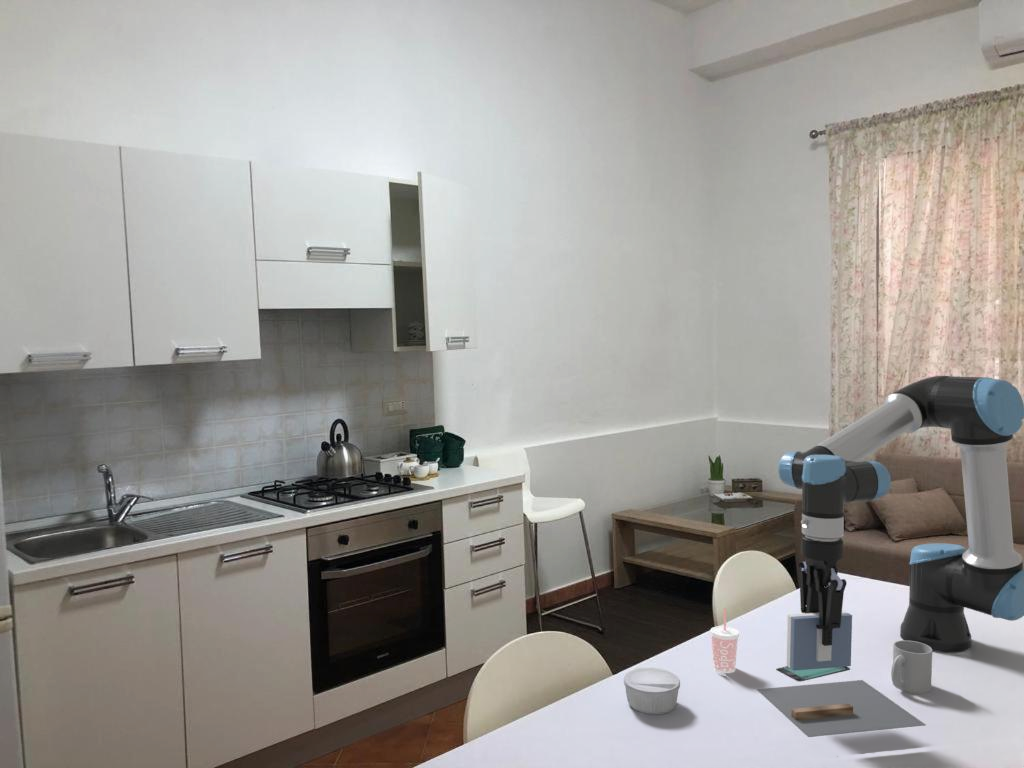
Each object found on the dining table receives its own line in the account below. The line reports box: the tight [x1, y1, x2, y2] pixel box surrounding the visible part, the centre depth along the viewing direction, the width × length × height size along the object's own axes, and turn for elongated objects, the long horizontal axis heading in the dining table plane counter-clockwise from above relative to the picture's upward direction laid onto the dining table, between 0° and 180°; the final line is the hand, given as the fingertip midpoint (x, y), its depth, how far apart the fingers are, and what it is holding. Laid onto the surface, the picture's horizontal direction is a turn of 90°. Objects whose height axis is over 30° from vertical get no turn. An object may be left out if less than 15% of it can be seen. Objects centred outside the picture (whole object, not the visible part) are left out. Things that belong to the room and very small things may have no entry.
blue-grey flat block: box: [786, 610, 853, 671], centre depth 158 cm, size 12×2×10 cm, turn 100°
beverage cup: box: [710, 607, 740, 676], centre depth 179 cm, size 6×6×14 cm
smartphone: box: [775, 665, 850, 682], centre depth 179 cm, size 7×1×15 cm
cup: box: [890, 639, 933, 695], centre depth 169 cm, size 7×10×9 cm
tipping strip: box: [791, 704, 853, 720], centre depth 157 cm, size 12×2×2 cm, turn 100°
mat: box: [756, 679, 927, 738], centre depth 161 cm, size 24×20×1 cm
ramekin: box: [623, 667, 681, 715], centre depth 164 cm, size 11×11×5 cm
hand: (819, 656), depth 158 cm, fingers closed on blue-grey flat block, 2 cm apart
